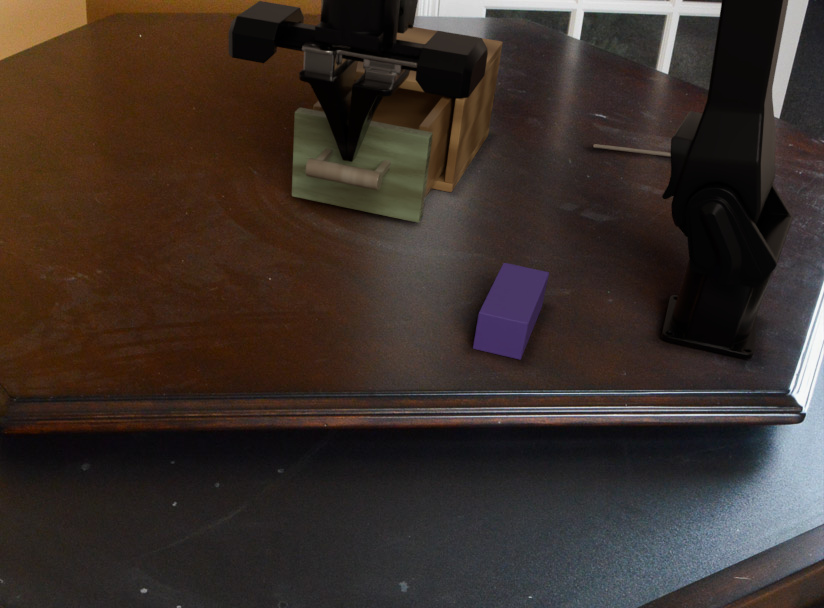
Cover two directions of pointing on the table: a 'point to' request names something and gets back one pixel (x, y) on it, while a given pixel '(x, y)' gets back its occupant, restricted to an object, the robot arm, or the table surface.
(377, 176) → the drawer
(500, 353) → the purple rectangular prism
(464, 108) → the cabinet
